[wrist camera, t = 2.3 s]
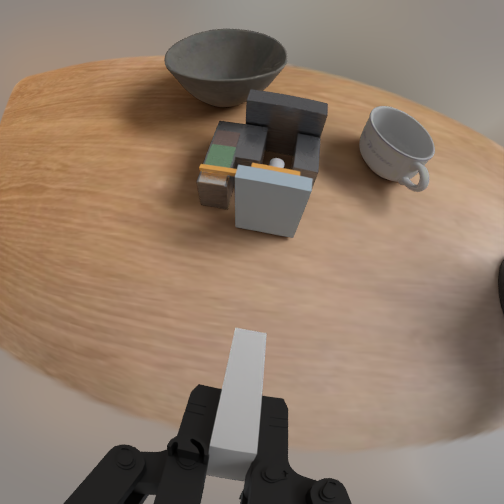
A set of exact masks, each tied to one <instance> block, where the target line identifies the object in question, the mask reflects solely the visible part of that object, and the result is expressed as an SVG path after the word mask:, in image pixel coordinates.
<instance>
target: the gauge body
mask: <svg viewBox="0 0 504 504" xmlns="http://www.w3.org/2000/svg"><path fill="white" fill-rule="evenodd" d="M327 109H328V104H327V103H323V102H319V101H314V100H310V99H305V98H300V97H295V96H290V95H284V94H278V93H272V92H266V91H259V90H252V89H250V92H249V95H248V98H247V105H246V124H240V123H232V122H224V121H219V123H218V126H217V129H216V131H215V134H214V136H213V139H212V141H211V144H210V147H209V149H208V152H207V155H206V157H205V160H204V163H203V164H206V165H213V166H220V167H227V168H233V169H237V168H238V165H243V166H250V167H251V165H252V163H257V164H262V163H263V159H264V154H265V151H270V152H275V153H280V154H286V155H291V156H293V157H292V163H291V170H295V171H300V176H303V177H308V178H312V179H313V180H312V187H313V185H314V182H315V180H316V177H317V174H318V168H319V153H320V137H321V134H322V130H323V127H324V124H325V121H326V118H327ZM234 185H235V176H230V175H223V174H217V173H210V172H203V171H200V174H199V177H198V179H197V187H198V192H199V197H200V202H201V205H205V206H211V207H217V208H223V209H228V207H229V203H230V200H231V196H232V192H233V188H234Z"/></svg>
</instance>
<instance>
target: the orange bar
mask: <svg viewBox="0 0 504 504" xmlns="http://www.w3.org/2000/svg"><path fill="white" fill-rule="evenodd" d="M251 167H255V168H261V169H267V170H272V171H278V172H283V173H288V174H293V175H298V176H300V171H295V170H290V169H285V168H280V167H274V166H269V165H263V164H257V163H252V165H251ZM199 169H200V171H203V172H210V173H217V174H223V175H230V176H235V175H236V171H237V169H233V168H227V167H220V166H213V165H206V164H201V165H200V167H199Z"/></svg>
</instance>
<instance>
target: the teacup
mask: <svg viewBox="0 0 504 504" xmlns="http://www.w3.org/2000/svg"><path fill="white" fill-rule="evenodd" d="M359 147H360V152H361V155H362V157H363V159H364V160H365V162H366V163H367V165H368V166H369V167H370V168H371V170H372V171H374V172H375V173H376V174H377V175H379V176H381V177H383V178H385V179H388V180H391V181H396V182H399V184H401V185H405V186H406V187H407V188H409V189H410V190H412V191H416V192H420V191H423V190H424V189H426V187H427V186H428V183H429V173H428V170H427V169H426V167H425V166H424V165H425V164H426V163H427V162H428V160H429V159H431V158H432V157H433V155H434V152H435V147H434V143H433V140H432V138H431V136H430V135H429V133H428V132H427V131H426V129H425V128H424V127H423V126H422V125H421V124H420V123H419V122H418V121H417V120H415V119H414V118H413V117H411V116H410V115H408V114H406V113H405V112H403V111H400V110H398V109H395V108H392V107H387V106H380V107H376V108H374V109H373V110H372V111H371V113H370V117H369V119H368V121H367V123H366V125H365V127H364V129H363V132H362V134H361V137H360V142H359ZM418 172H419V174H420V181H419V183H418V185H415V184H414V183H412V182H411V181H410V180H409V179H411V178H413V177H414V176H415V175H416V174H417V173H418Z"/></svg>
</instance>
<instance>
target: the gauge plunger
mask: <svg viewBox="0 0 504 504" xmlns="http://www.w3.org/2000/svg"><path fill="white" fill-rule="evenodd" d="M269 166H274V167H280V168H284V161H283V160H281V159H279V158H273V159H271V160H270V164H269ZM312 180H313V179H312V178H308V177H303V176H298V175H293V174H288V173H283V172H278V171H272V170H267V169H261V168H255V167H250V166H243V165H238V168H237V171H236V175H235V227H238V228H243V229H248V230H254V231H259V232H264V233H270V234H275V235H280V236H285V237H291V238H293V237H294V234H295V232H296V229H297V227H298V224H299V222H300V219H301V217H302V214H303V212H304V209H305V207H306V204H307V202H308V199H309V196H310V194H311V191H312Z"/></svg>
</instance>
